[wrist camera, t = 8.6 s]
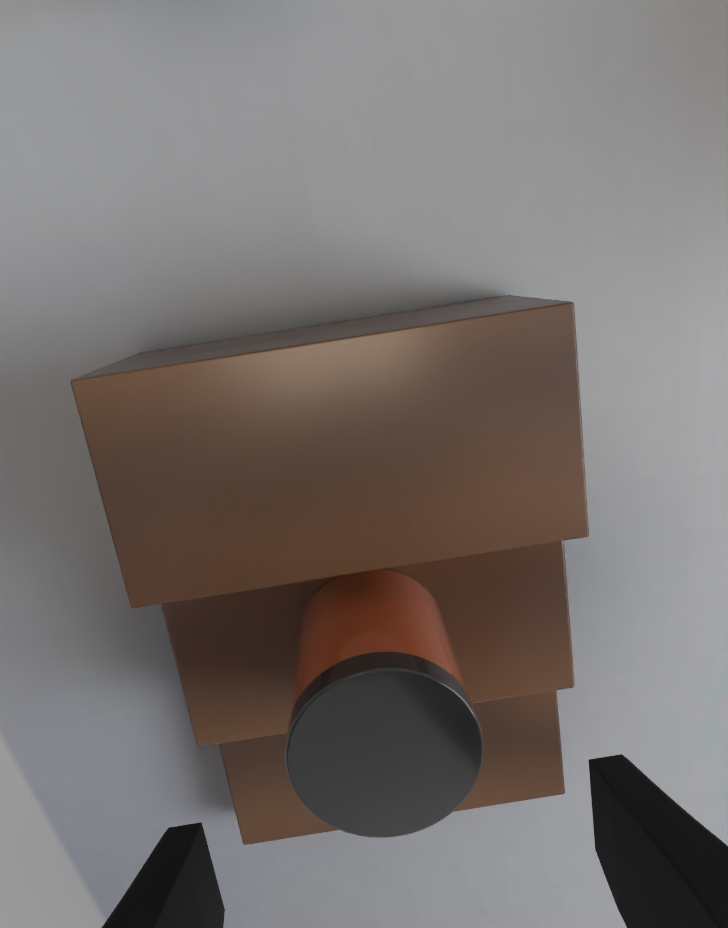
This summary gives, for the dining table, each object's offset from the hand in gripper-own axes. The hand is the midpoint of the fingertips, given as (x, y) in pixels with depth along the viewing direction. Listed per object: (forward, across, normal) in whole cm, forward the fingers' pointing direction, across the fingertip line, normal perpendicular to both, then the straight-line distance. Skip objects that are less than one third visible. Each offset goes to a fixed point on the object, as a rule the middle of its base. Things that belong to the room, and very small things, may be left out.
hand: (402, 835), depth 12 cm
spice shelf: (+10, 0, 0) cm, 10 cm away
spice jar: (+7, 0, 0) cm, 7 cm away
